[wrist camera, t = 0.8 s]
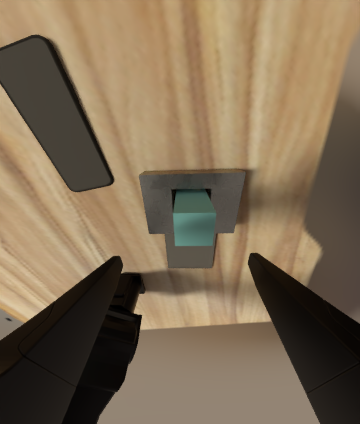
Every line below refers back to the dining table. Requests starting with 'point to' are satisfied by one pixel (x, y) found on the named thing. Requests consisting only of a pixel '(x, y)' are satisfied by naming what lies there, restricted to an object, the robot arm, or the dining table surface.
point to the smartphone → (53, 112)
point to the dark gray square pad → (188, 254)
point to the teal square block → (193, 218)
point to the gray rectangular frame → (191, 179)
